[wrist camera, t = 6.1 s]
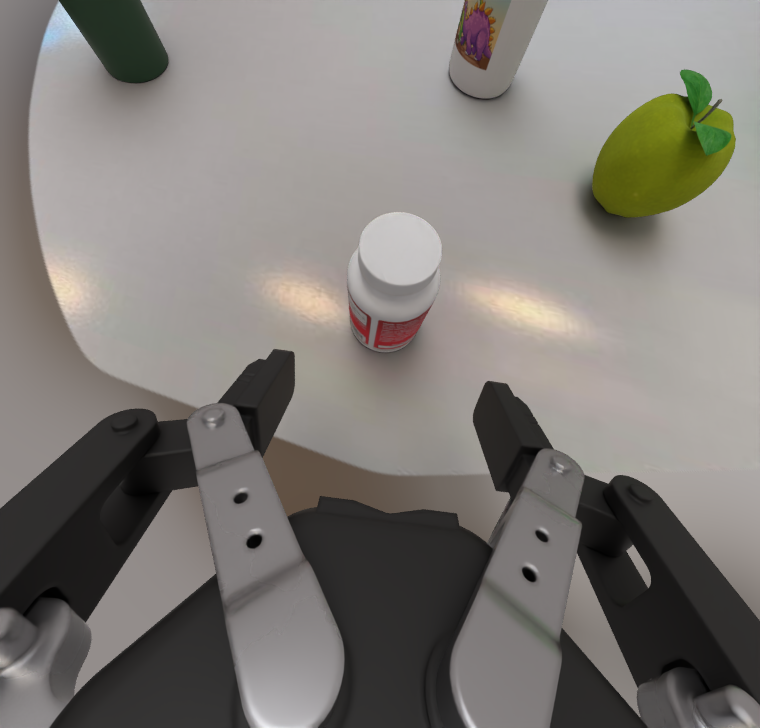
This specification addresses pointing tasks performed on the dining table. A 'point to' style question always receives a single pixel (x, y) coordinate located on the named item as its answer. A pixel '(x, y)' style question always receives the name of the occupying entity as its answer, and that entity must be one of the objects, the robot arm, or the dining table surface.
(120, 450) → the robot arm
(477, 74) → the milk bottle
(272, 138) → the dining table surface
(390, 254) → the pill bottle
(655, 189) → the fruit
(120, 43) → the bottle
